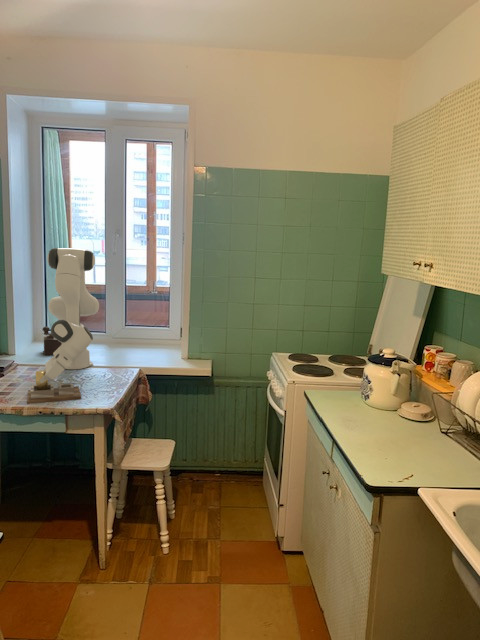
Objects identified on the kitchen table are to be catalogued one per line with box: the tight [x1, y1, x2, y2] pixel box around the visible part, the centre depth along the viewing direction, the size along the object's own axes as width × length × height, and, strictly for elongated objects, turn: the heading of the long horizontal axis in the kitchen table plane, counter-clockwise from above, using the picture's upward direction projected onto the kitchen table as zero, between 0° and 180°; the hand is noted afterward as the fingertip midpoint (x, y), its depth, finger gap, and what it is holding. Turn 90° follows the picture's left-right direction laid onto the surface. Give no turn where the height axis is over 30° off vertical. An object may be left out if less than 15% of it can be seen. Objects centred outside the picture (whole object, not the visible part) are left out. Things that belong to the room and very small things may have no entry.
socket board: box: [26, 383, 82, 405], centre depth 217 cm, size 15×22×4 cm
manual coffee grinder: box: [42, 326, 62, 356], centre depth 289 cm, size 16×11×18 cm
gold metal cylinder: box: [35, 369, 49, 391], centre depth 215 cm, size 5×5×8 cm
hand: (40, 379), depth 214 cm, fingers closed on gold metal cylinder, 5 cm apart
